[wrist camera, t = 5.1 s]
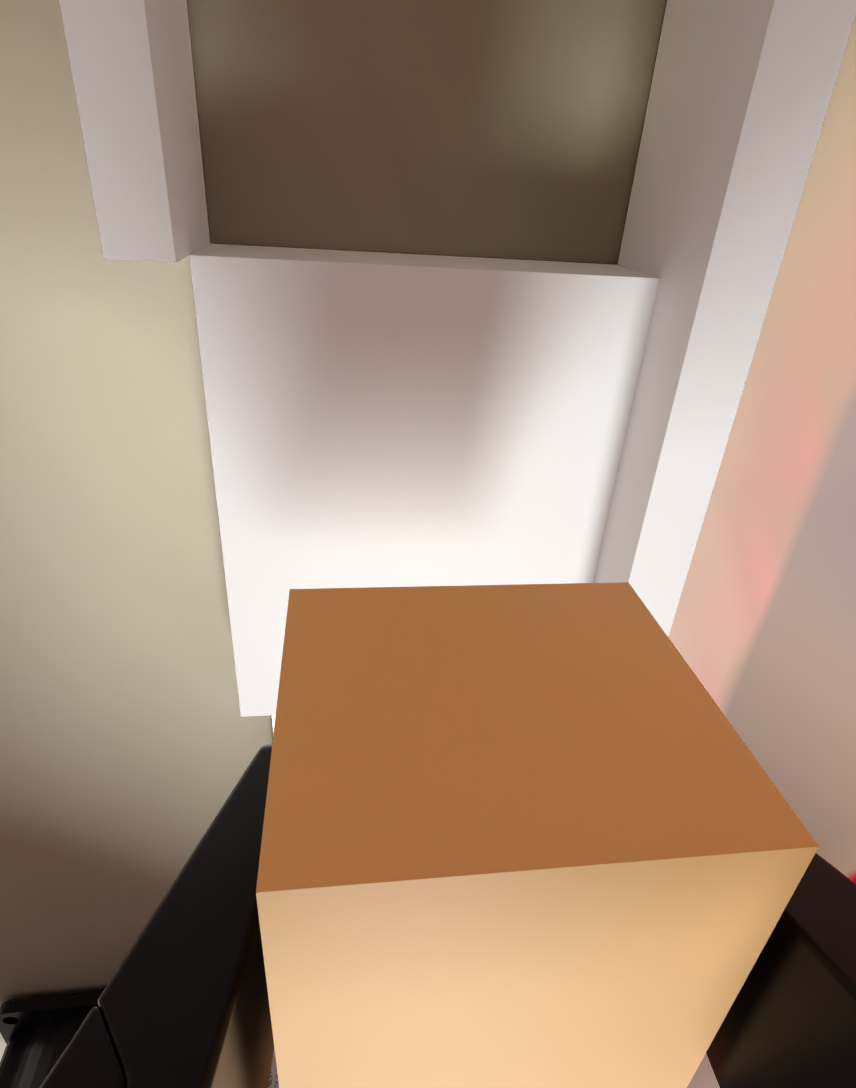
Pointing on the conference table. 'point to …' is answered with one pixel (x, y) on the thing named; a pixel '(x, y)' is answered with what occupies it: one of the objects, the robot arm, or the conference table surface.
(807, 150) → the white box
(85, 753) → the conference table surface
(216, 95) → the conference table surface
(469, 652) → the orange cube
